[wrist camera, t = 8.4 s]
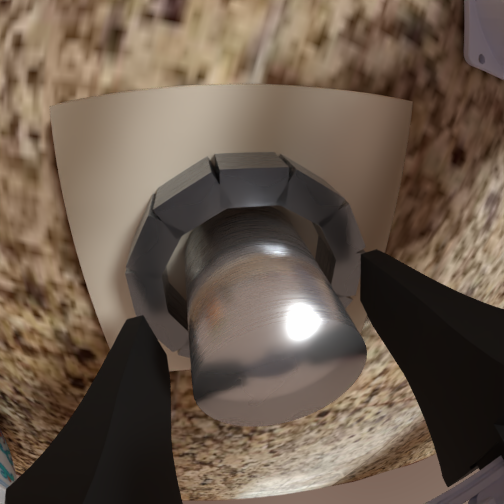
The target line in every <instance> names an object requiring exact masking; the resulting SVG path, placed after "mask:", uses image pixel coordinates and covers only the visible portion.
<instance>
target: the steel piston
mask: <svg viewBox="0 0 504 504" xmlns="http://www.w3.org/2000/svg"><path fill="white" fill-rule="evenodd" d="M185 279H186V301H187V319H188V335H189V349H190V362H191V374H192V385H193V394H194V399H195V401H196V403H197V405H198V406H199V408H200V409H201V410H202V411H203V412H204V413H205V414H207V415H208V416H210V417H212V418H214V419H216V420H218V421H221V422H224V423H227V424H232V425H238V426H268V425H275V424H281V423H285V422H289V421H292V420H296V419H299V418H302V417H304V416H307V415H309V414H311V413H314V412H316V411H318V410H320V409H322V408H323V407H325V406H327V405H328V404H330V403H332V402H333V401H334V400H336V399H337V398H339V397H340V396H341V395H342V394H343V393H345V392H346V391H347V390H348V389H349V388H350V387H351V386H352V385H353V383H354V382H355V381H356V380H357V378H358V377H359V375H360V374H361V372H362V370H363V368H364V365H365V362H366V356H367V350H366V345H365V343H364V340H363V338H362V337H361V335H360V333H359V332H358V330H357V328H356V326H355V325H354V323H353V321H352V320H351V318H350V316H349V314H348V313H347V311H346V309H345V308H344V306H343V304H342V303H341V301H340V299H339V298H338V296H337V294H336V293H335V291H334V289H333V288H332V286H331V285H330V283H329V281H328V280H327V278H326V276H325V275H324V273H323V271H322V270H321V268H320V267H319V265H318V263H317V262H316V260H315V259H314V257H313V255H312V254H311V252H310V251H309V249H308V247H307V246H306V244H305V243H304V241H303V240H302V238H301V236H300V235H299V233H298V232H297V230H296V229H295V227H294V225H293V224H292V223H291V221H290V220H289V219H288V218H287V217H286V216H285V215H284V214H283V213H281V212H280V211H279V210H277V209H275V208H273V207H271V206H258V207H241V208H227V209H225V210H224V211H222V212H220V213H219V214H217V215H215V216H214V217H212V218H210V219H209V220H207V221H205V222H204V223H202V224H200V225H199V226H197V227H196V228H194V230H193V231H192V233H191V235H190V236H189V239H188V241H187V244H186V249H185Z"/></svg>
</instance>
